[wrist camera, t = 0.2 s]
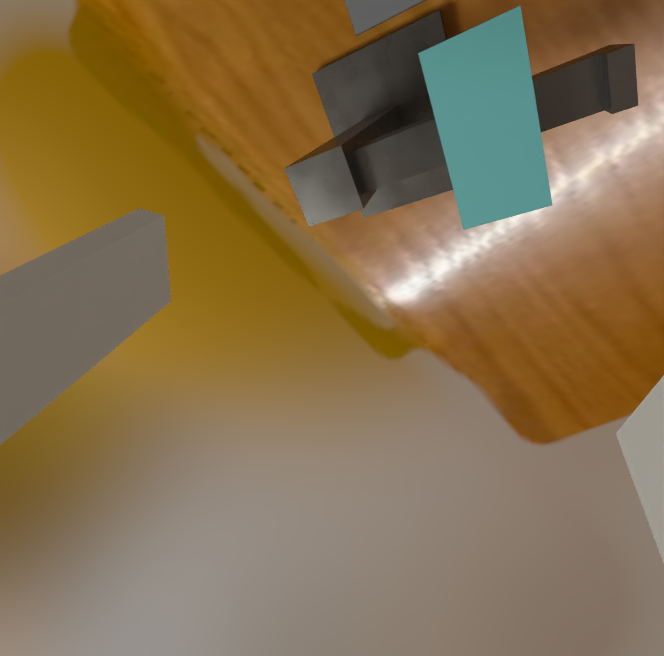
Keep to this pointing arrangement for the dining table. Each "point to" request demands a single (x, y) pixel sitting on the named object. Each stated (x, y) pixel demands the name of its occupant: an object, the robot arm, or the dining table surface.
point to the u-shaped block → (488, 120)
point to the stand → (423, 120)
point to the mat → (375, 11)
